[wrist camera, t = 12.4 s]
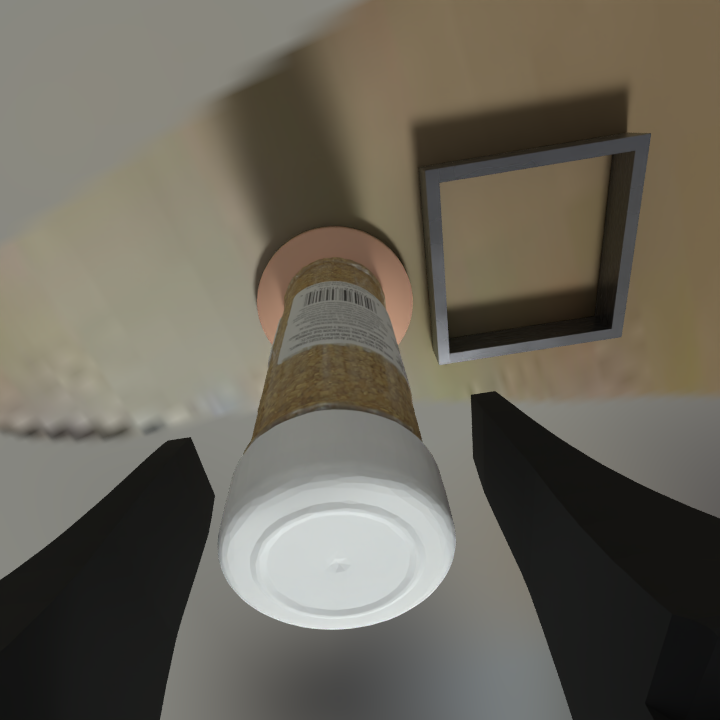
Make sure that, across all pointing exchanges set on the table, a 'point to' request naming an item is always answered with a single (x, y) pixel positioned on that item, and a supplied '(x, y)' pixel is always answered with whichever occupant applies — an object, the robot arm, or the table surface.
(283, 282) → the terracotta coaster
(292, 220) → the table surface
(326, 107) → the table surface
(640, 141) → the square socket
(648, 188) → the table surface
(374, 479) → the sprinkles bottle
